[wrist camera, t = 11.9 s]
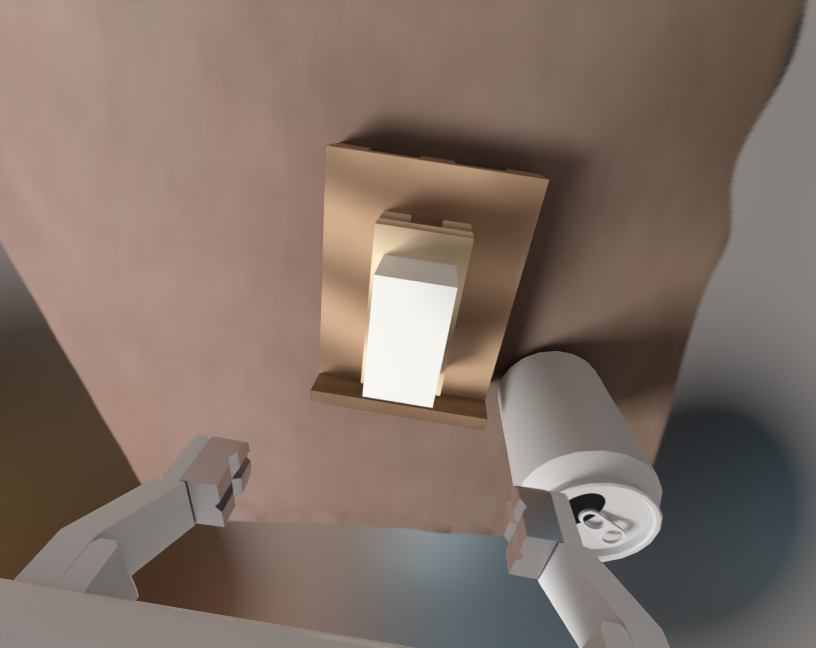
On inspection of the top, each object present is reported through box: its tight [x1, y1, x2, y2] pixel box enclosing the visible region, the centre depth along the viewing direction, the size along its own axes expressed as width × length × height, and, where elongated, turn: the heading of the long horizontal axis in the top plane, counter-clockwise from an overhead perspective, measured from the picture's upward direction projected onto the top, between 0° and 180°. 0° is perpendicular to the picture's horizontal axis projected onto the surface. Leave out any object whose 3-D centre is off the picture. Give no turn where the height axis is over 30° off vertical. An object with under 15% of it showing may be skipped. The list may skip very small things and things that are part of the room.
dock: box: [311, 143, 549, 430], centre depth 25 cm, size 16×12×5 cm
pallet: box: [361, 211, 474, 396], centre depth 23 cm, size 10×5×3 cm, turn 173°
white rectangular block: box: [363, 254, 458, 408], centre depth 20 cm, size 7×4×3 cm, turn 173°
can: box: [498, 351, 663, 562], centre depth 25 cm, size 8×8×12 cm
